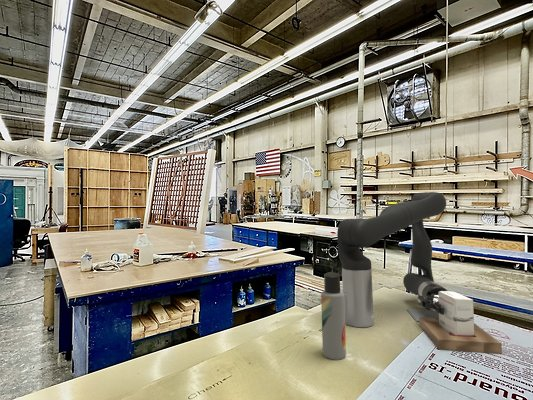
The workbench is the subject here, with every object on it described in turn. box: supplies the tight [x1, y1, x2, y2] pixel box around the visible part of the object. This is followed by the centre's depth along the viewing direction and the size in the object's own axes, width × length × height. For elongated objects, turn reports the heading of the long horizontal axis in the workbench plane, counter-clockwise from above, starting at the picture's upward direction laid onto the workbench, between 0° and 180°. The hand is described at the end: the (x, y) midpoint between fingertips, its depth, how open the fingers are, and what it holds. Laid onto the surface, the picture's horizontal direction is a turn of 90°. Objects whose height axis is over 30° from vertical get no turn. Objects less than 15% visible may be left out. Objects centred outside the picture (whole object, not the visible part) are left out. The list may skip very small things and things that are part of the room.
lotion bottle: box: [320, 271, 347, 360], centre depth 72 cm, size 6×6×20 cm
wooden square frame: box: [418, 317, 503, 355], centre depth 79 cm, size 14×16×2 cm
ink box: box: [438, 290, 475, 337], centre depth 80 cm, size 9×5×12 cm, turn 178°
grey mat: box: [405, 308, 439, 323], centre depth 96 cm, size 14×12×1 cm
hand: (455, 311), depth 79 cm, fingers open, 6 cm apart
